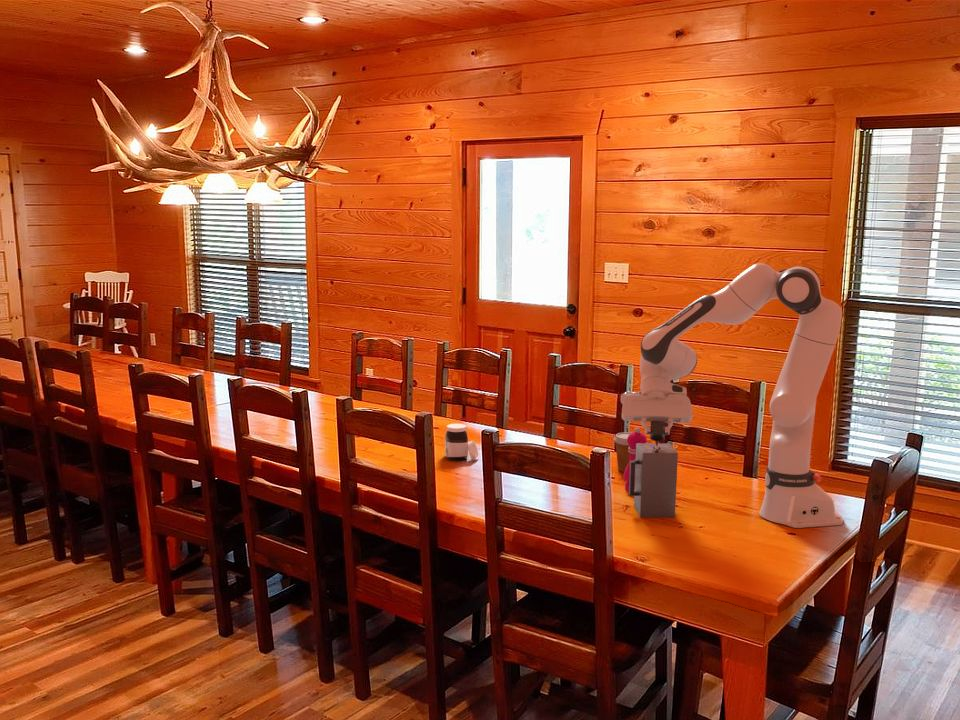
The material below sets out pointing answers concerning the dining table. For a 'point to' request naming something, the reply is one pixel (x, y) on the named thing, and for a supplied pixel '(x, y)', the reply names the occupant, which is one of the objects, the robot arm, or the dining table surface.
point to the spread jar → (459, 443)
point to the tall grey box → (654, 480)
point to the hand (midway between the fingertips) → (657, 433)
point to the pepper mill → (633, 452)
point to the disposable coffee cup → (622, 450)
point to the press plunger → (657, 432)
